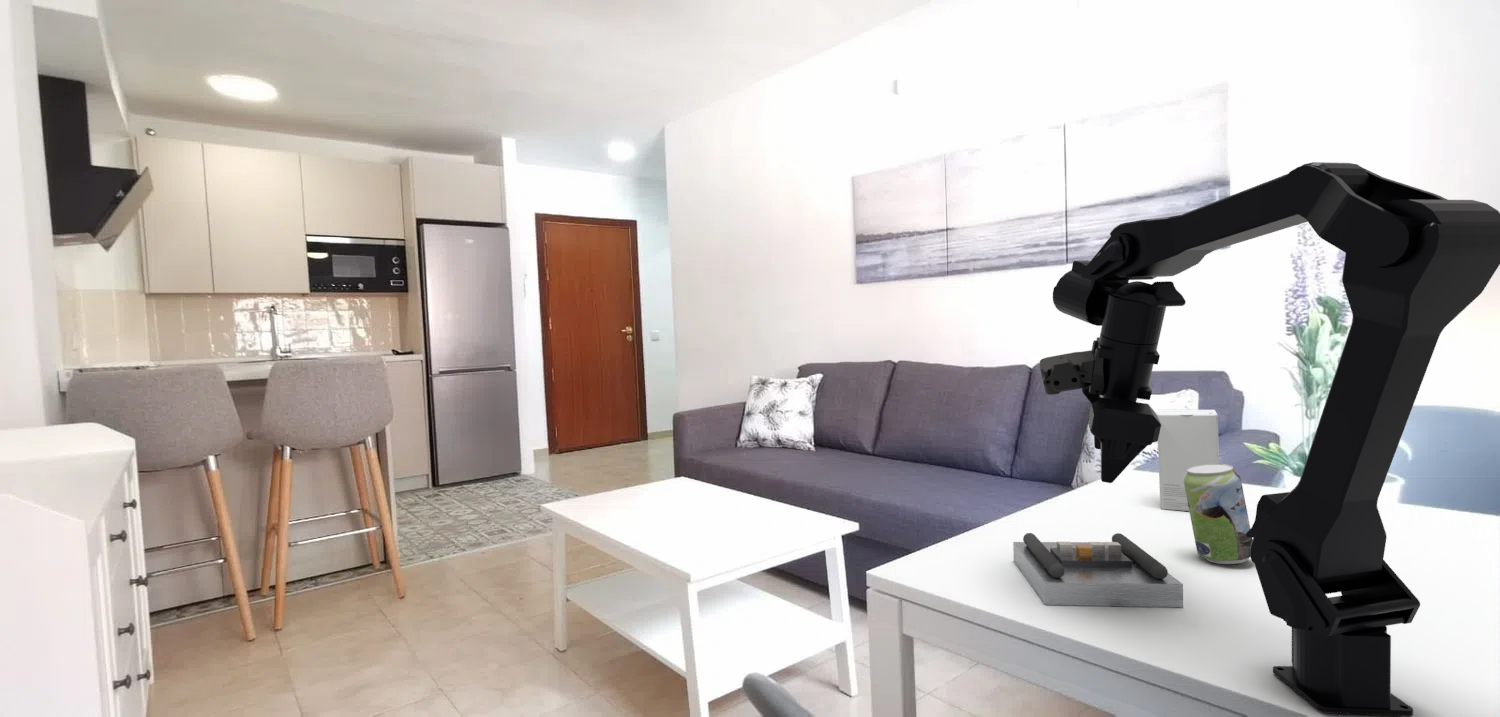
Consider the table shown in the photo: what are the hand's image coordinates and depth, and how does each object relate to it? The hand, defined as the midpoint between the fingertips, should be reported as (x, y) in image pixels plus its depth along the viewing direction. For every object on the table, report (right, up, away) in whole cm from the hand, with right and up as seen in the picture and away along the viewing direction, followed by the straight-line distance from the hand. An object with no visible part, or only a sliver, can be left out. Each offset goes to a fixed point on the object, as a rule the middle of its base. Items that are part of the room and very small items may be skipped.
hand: (1102, 464), depth 81 cm
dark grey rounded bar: (-7, -12, +1) cm, 13 cm away
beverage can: (+18, -13, +6) cm, 23 cm away
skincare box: (+29, -12, +29) cm, 43 cm away
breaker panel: (-1, -14, 0) cm, 14 cm away
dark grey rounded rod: (+4, -11, -1) cm, 12 cm away
